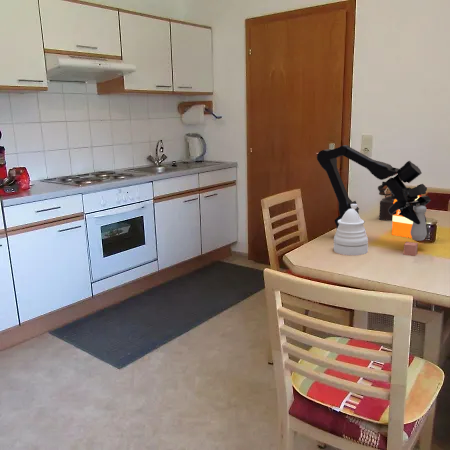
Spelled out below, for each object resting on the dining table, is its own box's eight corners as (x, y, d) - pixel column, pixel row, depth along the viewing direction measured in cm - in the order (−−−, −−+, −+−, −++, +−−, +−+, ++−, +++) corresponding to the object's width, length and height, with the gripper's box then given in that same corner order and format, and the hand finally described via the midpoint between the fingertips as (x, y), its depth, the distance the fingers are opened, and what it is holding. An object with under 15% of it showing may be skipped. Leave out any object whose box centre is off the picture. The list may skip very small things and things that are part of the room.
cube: (403, 254, 168) (404, 244, 167) (405, 251, 171) (406, 241, 170) (414, 256, 166) (415, 245, 165) (417, 253, 169) (417, 242, 168)
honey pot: (344, 244, 185) (345, 201, 180) (373, 249, 176) (375, 204, 171) (327, 251, 176) (327, 206, 172) (356, 257, 167) (358, 210, 163)
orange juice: (411, 238, 189) (413, 191, 184) (391, 234, 195) (393, 189, 191) (420, 234, 194) (422, 188, 189) (400, 231, 200) (402, 186, 196)
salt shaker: (427, 241, 169) (430, 207, 166) (411, 241, 170) (413, 207, 167) (424, 237, 174) (426, 204, 171) (408, 237, 175) (410, 204, 172)
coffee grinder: (380, 215, 232) (382, 180, 228) (403, 216, 227) (405, 181, 223) (375, 222, 219) (376, 185, 215) (399, 223, 214) (401, 186, 209)
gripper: (396, 180, 165) (421, 214, 159) (428, 175, 174) (452, 207, 168) (378, 198, 174) (401, 231, 167) (409, 192, 183) (432, 223, 176)
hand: (422, 223), depth 169 cm, fingers closed on salt shaker, 3 cm apart
